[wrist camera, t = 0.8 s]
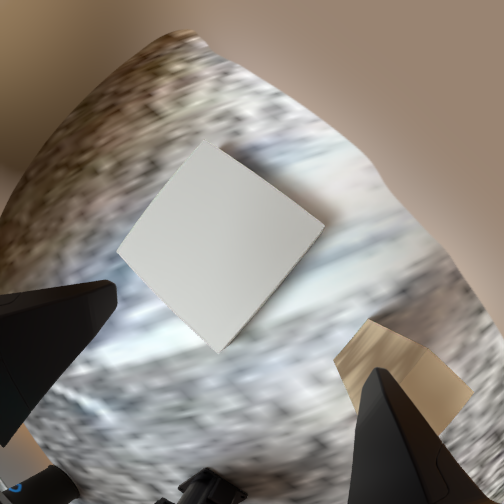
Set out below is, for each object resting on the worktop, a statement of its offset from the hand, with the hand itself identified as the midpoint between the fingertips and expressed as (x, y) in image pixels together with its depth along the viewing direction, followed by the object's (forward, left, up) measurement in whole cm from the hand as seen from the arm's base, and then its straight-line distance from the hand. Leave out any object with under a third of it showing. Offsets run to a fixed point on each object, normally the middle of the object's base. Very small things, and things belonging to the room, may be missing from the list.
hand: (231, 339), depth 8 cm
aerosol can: (-53, +5, -18) cm, 56 cm away
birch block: (+2, -10, -17) cm, 20 cm away
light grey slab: (+1, +8, -17) cm, 19 cm away
